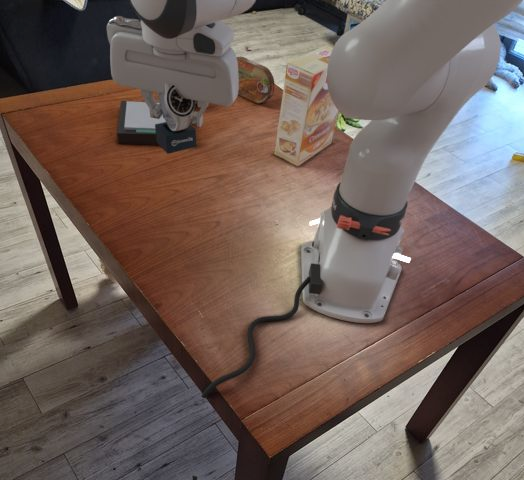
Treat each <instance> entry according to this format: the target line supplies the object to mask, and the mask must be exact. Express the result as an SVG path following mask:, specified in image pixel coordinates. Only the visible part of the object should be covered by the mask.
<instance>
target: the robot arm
mask: <svg viewBox="0 0 524 480" xmlns="http://www.w3.org/2000/svg"><path fill="white" fill-rule="evenodd" d="M523 1H524V0H384V2H382V4H381V5H379V6H378V8H377V9H376V10H375V11H373V12H372V13H371V14H369V16H368V17H366V18H365V19H364V20H362V21H361V22H360V23H359V24H357V25H356V26H354V27H352V28H351V29H349V30H348V31H346V32H344V33H343V34H342V35H341V36H340V37H339V38H338V39H337V41H336V42H335V44H334V45H333V47H332V48H333V50H332V52H331V55H330V58H329V62H328V68H327V85H328V90H329V94H330V97H331V99H332V101H333V103H334V105H335V107H336V108H337V109H338V111H339V112H338V113H340V114H341V115H342V116H344V117H345V118H348V119H352V120H361V121H369V122H368V123H367V124H366V125H365V126H364V127H363V128H361V130H359V132H358V133H357V134H356V135H355V137H354V138H353V140H352V142H351V143H350V146H349V149H348V152H347V153H348V154H347V156H346V160H345V164H344V168H343V171H342V175H341V180H340V182H338V184H337V185H336V189H335V191H334V193H333V196H332V202H331V207H329V208H327V209H325V210H324V211H322V212H320V216H319V218H317V219H314V220H310V221H309V226H313V225H316V224H317V227H316V231H315V235H314V238H313V240H310V241H306V242H304V243H302V245H301V248H300V265H301V266H300V267H301V284H300V285H299V287H297V289H296V292H295V294H294V300H293V307H292V309H291V310H290V311H289V312H287V313H285V314H281V315H268V316H266V315H265V316H261V317H258V318H256V319H254V320H253V321H252V322H251V323H250V324H249V326H248V329H247V343H248V346H249V358H248V360H247V361H246V362H245V364H244V365H243V366H242V367H240V368H238V369H237V370H234V371H231V372H230V373H227V374H224V375H223V376H219V377H218V378H216V379H215V380H213V381H212V382H211V383H209V385H208V386H207V387H206V388H205V389H204V391H203V392H202V393H201V398H202V399H206V398H207V397H209V395H210V394H211V392H212V391H213V390H214V389H215V388H216V387H218V386H219V385H221V384H223V383H225V382H227V381H229V380H231V379H234V378H236V377H238V376H241V375H242V374H244V373H245V372H247V371H248V370H249V369H250V368H251V367H252V365H253V363H254V361H255V357H256V347H255V342H254V336H253V335H254V333H253V332H254V329H255V327H256V326H257V325H259V324H261V323H265V322H275V321H276V322H278V321H283V320H288V319H290V318H292V317H293V316H295V314H296V313H297V312H298V310H299V306H300V298H301V295H302V303H304V304H305V305H306V306H307V307H308V308H310V309H311V310H313V311H315V312H317V313H319V314H321V315H324V316H326V317H329V318H333V319H336V320H337V319H338V320H341V321H344V322H345V321H346V322H351V323H356V324H375V323H380V322H382V321H383V320H384V318H385V315H386V312H387V310H388V307H389V305H390V302H391V299H392V296H393V294H394V291H395V289H396V286H397V283H398V280H399V278H400V275H401V272H402V269H403V267H402V265H401V264H400V263H399V262H398V260H399V261H402V262H405V263H408V264H409V263H410V262H411V260H412V258H411V257H408V256H406V255H403V254H402V252H403V250H404V248H403V247H402V246H400V243H401V241H402V239H403V236H404V234H405V230H404V228H403V227H402V223H403V221H404V219H405V216H406V213H407V209H408V204H409V203H408V200H409V196H410V194H411V191H412V189H413V188H414V185H415V182H416V180H417V178H418V175H419V173H420V171H421V169H422V167H423V165H424V163H425V161H426V159H427V157H428V156H429V154H430V152H431V151H432V149H433V148H434V147H435V145H436V143H437V142H438V141H439V139H440V138H441V136H442V135H443V134H444V132H445V131H446V130H447V128H449V127H448V126H449V125H450V124H451V123H452V121H453V120H454V119H455V117H456V116H457V115H458V113H459V112H460V111H461V110H462V108H463V107H464V106H465V105H466V104H467V103H468V102H469V101H470V100H471V99H472V98H473V97H474V96H475V95H476V94H478V93H479V92H480V91H481V90H482V89H483V88H484V87H486V85H487V84H489V82H490V81H491V80H492V78H493V77H494V74H495V72H496V71H497V69H498V65H499V63H500V59H501V51H502V50H501V49H502V48H501V47H502V46H501V45H502V44H501V37H500V33H499V31H498V29H497V27H496V25H495V24H496V23H498V22H500V21H501V20H503V19H504V18H506V17H507V16H508V15H510V14H511V13H512V12H513V11H515V10H516V9H517V8H518V7H519V6H520V5H521V4H522V2H523ZM128 2H129V4H130V6H131V8H132V10H133V11H134V13H135V14H136V16H137V17H138V18H139V19H136V18H127V17H124V16H121V15H116V16H114V17H113V18H111V19H109V21H107V24H106V35H107V41H108V43H109V47H110V49H109V53H110V54H109V62H110V74H111V78H112V80H113V81H114V83H115V84H116V85H118V86H122V87H125V88H126V87H127V88H131V89H137V90H140V93H141V94H140V95H141V97H142V99H143V102H146V104H147V106H148V107H149V109H150V117H151V118H157V119H160V117H161V116H162V112H161V109H162V106H161V105H160V104H157V103H156V102H157V101H156V99H155V98H154V97H155V96H154V95H153V94H154V93H157V94H158V93H161V94H165V84H168V85H169V86H171V85H174V86H175V87H176V88H175V90H176V91H177V93H178V94H179V95H180V96H181V97H183V98H186V99H191V100H196V101H197V105H196V106H197V108H200V109H199V110H198V111H193V117H192V119H191V122H190V124H191V125H192V126H193V127H196V128H201V127H202V126H203V123H204V114H205V112H206V110H207V108H208V107H209V105H210V104H211V105H217V106H222V107H226V108H229V107H231V105H232V104H234V102H236V100H237V99H238V96H239V95H238V90H239V77H238V63H237V57H238V56H237V54H236V52H235V51H234V49H233V48H232V47H231V46H232V44H233V42H234V37H235V33H234V29H233V28H232V27H231V26H230V25H229V24H227V23H224V22H223V20H226V19H230V18H233V17H236V16H240V15H241V14H243V13H245V12H247V11H250V10H251V9H252V8H253V6H254V5H255V3H256V2H257V0H128ZM191 477H192V480H198V476H196V475H193V474H192V476H191Z"/></svg>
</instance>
